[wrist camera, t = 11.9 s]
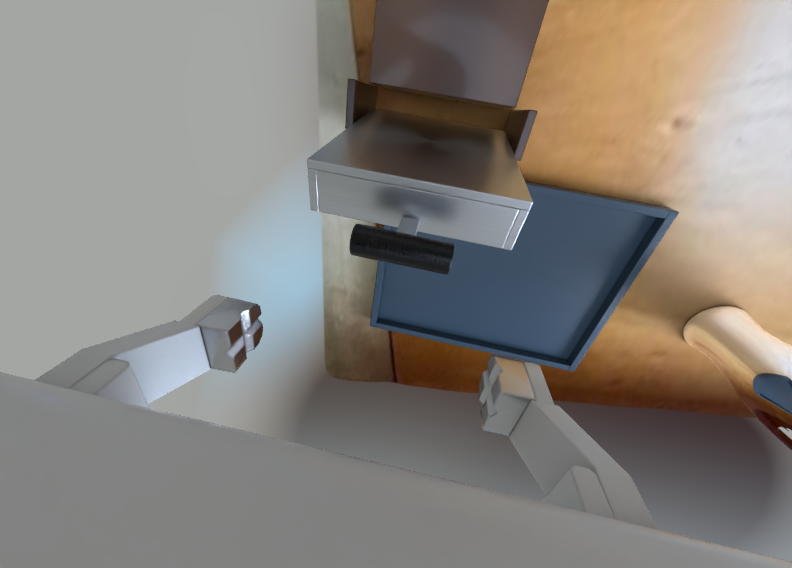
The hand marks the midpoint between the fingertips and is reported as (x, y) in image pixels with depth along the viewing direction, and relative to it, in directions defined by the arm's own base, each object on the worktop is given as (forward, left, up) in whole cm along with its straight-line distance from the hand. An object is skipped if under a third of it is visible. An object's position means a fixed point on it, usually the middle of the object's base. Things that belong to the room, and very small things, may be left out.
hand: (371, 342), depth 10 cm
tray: (+10, -8, -25) cm, 28 cm away
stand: (0, +10, -25) cm, 27 cm away
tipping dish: (0, +5, -14) cm, 15 cm away
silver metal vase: (+36, -9, -25) cm, 45 cm away
